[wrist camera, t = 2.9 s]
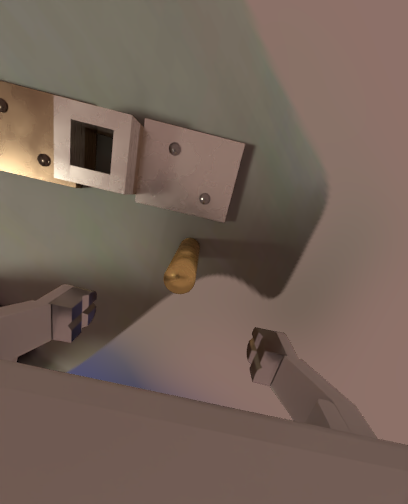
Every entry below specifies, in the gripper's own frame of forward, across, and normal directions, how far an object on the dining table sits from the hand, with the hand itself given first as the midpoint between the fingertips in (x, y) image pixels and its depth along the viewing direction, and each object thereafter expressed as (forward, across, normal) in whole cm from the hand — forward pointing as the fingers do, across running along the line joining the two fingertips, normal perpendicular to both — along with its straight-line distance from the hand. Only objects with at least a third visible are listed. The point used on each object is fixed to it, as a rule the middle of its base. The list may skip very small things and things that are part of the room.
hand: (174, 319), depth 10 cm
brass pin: (+14, +1, 0) cm, 14 cm away
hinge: (+14, +11, -8) cm, 19 cm away
